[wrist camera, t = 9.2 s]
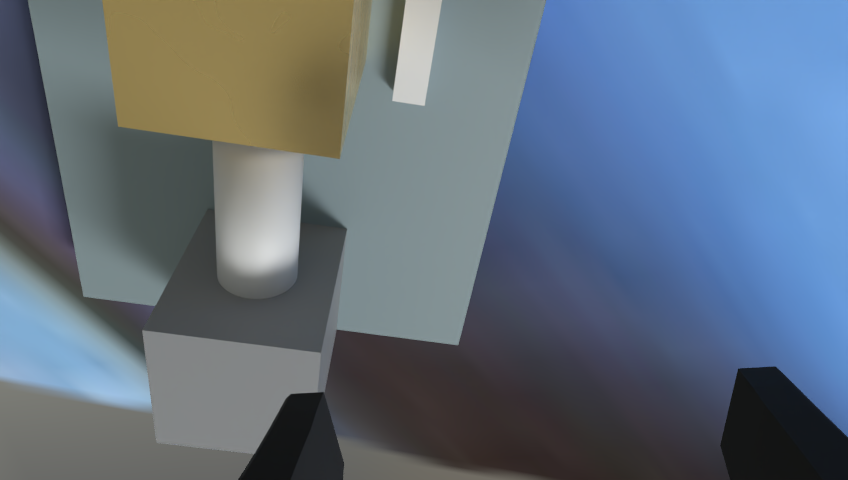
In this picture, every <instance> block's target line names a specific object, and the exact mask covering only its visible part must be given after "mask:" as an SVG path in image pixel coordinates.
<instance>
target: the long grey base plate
mask: <svg viewBox="0 0 848 480" xmlns="http://www.w3.org/2000/svg"><path fill="white" fill-rule="evenodd" d="M545 3H546V0H372V7H371V17H370V26H369V36H368V45H367V55H366V62H365V66H364V70H363V74H362V77H361V81H360V85H359V89H358V92H357V96H356V100H355V104H354V107H353V111H352V115H351V119H350V122H349V126H348V130H347V134H346V137H345V141H344V145H343V149H342V152H341V156H340V159H336V158H329V157H322V156H316V155H309V154H302V153H295V152H288V151H281V150H275V149H268V148H261V147H254V146H247V145H241V144H234V143H227V142H220V141H213V140H206V139H200V138H193V137H186V136H179V135H172V134H165V133H159V132H152V131H145V130H138V129H131V128H124V127H118V122H117V114H116V106H115V98H114V90H113V83H112V75H111V67H110V59H109V51H108V43H107V35H106V27H105V19H104V11H103V3H102V0H28V4H29V9H30V15H31V20H32V25H33V31H34V36H35V41H36V46H37V52H38V57H39V62H40V68H41V73H42V78H43V84H44V89H45V94H46V99H47V105H48V110H49V115H50V121H51V126H52V131H53V137H54V142H55V147H56V152H57V158H58V163H59V168H60V174H61V179H62V184H63V190H64V195H65V200H66V205H67V211H68V216H69V221H70V227H71V232H72V237H73V243H74V248H75V253H76V258H77V264H78V269H79V274H80V280H81V285H82V290H83V296H84V297H90V298H98V299H106V300H114V301H121V302H129V303H137V304H144V305H152V306H155V308H154V310H153V311H152V313H151V315H150V317H149V319H148V321H147V323H146V324H145V326H144V328H143V330H142V331H143V339H144V347H145V355H146V363H147V371H148V379H149V387H150V395H151V403H152V411H153V418H154V426H155V433H156V441H157V443H164V444H173V445H181V446H190V447H199V448H208V449H216V450H225V451H233V452H242V453H251V454H255V452H256V450H257V449H258V447H259V445H260V444H261V442H262V440H263V438H264V437H265V435H266V433H267V432H268V430H269V428H270V426H271V425H272V423H273V421H274V419H275V417H276V416H277V414H278V412H279V410H280V408H281V407H282V405H283V403H284V401H285V399H286V398H287V397H288V396H289V395H290V394H297V393H315V392H325V387H326V382H327V376H328V371H329V366H330V361H331V355H332V350H333V345H334V340H335V335H336V329H338V330H345V331H353V332H361V333H369V334H376V335H384V336H392V337H399V338H407V339H415V340H423V341H430V342H438V343H446V344H454V345H458V344H459V340H460V336H461V332H462V328H463V324H464V320H465V316H466V312H467V308H468V304H469V301H470V297H471V293H472V289H473V285H474V281H475V277H476V273H477V269H478V265H479V261H480V257H481V254H482V250H483V246H484V242H485V238H486V234H487V230H488V226H489V222H490V218H491V214H492V210H493V207H494V203H495V199H496V195H497V191H498V187H499V183H500V179H501V175H502V171H503V167H504V163H505V160H506V156H507V152H508V148H509V144H510V140H511V136H512V132H513V128H514V124H515V120H516V116H517V113H518V109H519V105H520V101H521V97H522V93H523V89H524V85H525V81H526V77H527V73H528V69H529V66H530V62H531V58H532V54H533V50H534V46H535V42H536V38H537V34H538V30H539V26H540V22H541V19H542V15H543V11H544V7H545Z"/></svg>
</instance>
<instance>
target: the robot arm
mask: <svg viewBox="0 0 848 480" xmlns="http://www.w3.org/2000/svg"><path fill="white" fill-rule="evenodd" d="M720 446H721V449H722V453H723V456H724V460H725V463H726V467H727V470H728V474H729V477H730V480H848V437H847V436H846V435H845V434H844V433H843V432H842V431H841V430H840V429H839V428H838V427H837V426H836V425H835V424H834V423H833V422H832V421H831V420H829V419H828V418H827V417H826V416H825V415H824V414H823V413H822V412H821V411H820V410H819V409H818V408H817V407H816V406H815V405H814V404H813V403H812V402H811V401H810V400H809V399H808V398H807V397H806V396H805V395H804V394H803V393H802V392H801V391H800V390H799V389H798V388H797V387H796V386H795V385H794V384H793V383H792V382H791V381H790V380H789V379H788V378H787V377H786V376H785V375H784V374H783V373H782V372H781V371H780V370H779V369H778V368H776V367H759V368H741V369H738V372H737V376H736V380H735V385H734V389H733V393H732V398H731V402H730V406H729V411H728V415H727V419H726V423H725V428H724V432H723V436H722V441H721V445H720ZM343 469H344V462H343V458H342V455H341V451H340V448H339V444H338V441H337V437H336V434H335V430H334V427H333V423H332V420H331V416H330V413H329V409H328V406H327V402H326V399H325V395H324V392H315V393H297V394H290V395H289V396H288V397H287V398H286V399H285V401H284V403H283V405H282V407H281V408H280V410H279V412H278V414H277V416H276V417H275V419H274V421H273V423H272V425H271V426H270V428H269V430H268V432H267V433H266V435H265V437H264V438H263V440H262V442H261V444H260V445H259V447H258V449H257V450H256V452H255V454H254V455H253V457H252V459H251V460H250V462H249V464H248V465H247V467H246V468H245V470H244V472H243V473H242V475H241V476H240V478H239V479H238V480H343Z"/></svg>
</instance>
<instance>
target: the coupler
mask: <svg viewBox="0 0 848 480" xmlns="http://www.w3.org/2000/svg"><path fill="white" fill-rule="evenodd" d="M102 3H103V11H104V19H105V27H106V35H107V43H108V51H109V59H110V67H111V75H112V83H113V90H114V98H115V106H116V114H117V122H118V127H124V128H131V129H138V130H145V131H152V132H159V133H165V134H172V135H179V136H186V137H193V138H200V139H206V140H213V141H220V142H227V143H234V144H241V145H247V146H254V147H261V148H268V149H275V150H281V151H288V152H295V153H302V154H309V155H316V156H322V157H329V158H336V159H340V156H341V152H342V149H343V145H344V141H345V137H346V134H347V130H348V126H349V122H350V119H351V115H352V111H353V107H354V104H355V100H356V96H357V92H358V89H359V85H360V81H361V77H362V74H363V70H364V66H365V62H366V55H367V45H368V36H369V26H370V17H371V7H372V0H102Z"/></svg>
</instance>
